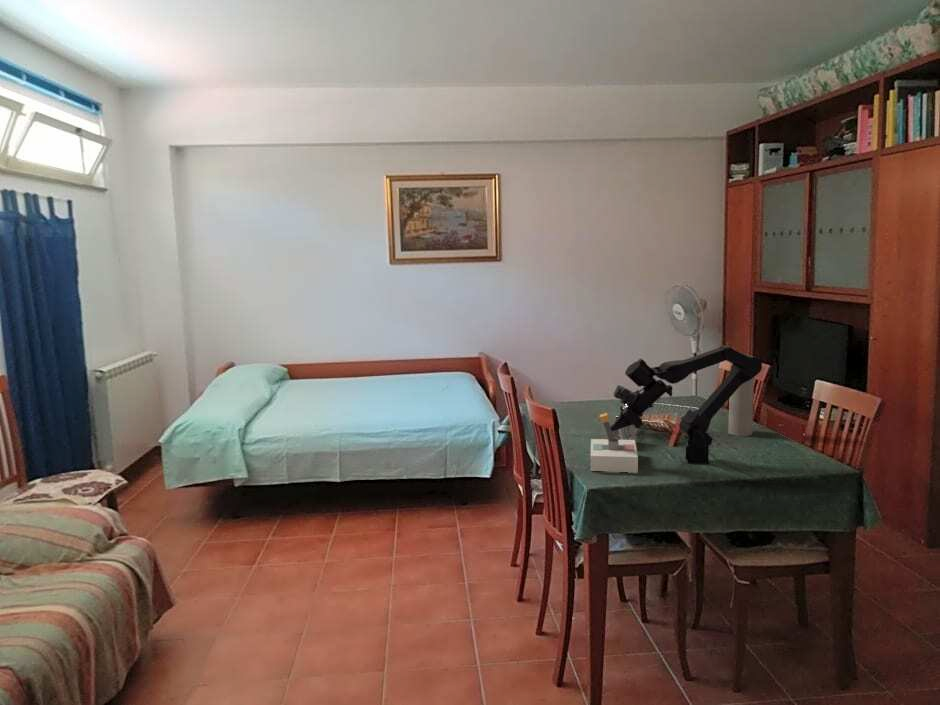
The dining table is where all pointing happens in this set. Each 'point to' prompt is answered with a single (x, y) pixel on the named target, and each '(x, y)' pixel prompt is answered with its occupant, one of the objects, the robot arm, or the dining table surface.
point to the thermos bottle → (741, 410)
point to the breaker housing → (614, 455)
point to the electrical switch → (625, 433)
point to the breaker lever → (607, 427)
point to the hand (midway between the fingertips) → (611, 429)
